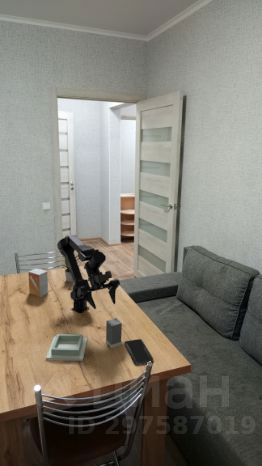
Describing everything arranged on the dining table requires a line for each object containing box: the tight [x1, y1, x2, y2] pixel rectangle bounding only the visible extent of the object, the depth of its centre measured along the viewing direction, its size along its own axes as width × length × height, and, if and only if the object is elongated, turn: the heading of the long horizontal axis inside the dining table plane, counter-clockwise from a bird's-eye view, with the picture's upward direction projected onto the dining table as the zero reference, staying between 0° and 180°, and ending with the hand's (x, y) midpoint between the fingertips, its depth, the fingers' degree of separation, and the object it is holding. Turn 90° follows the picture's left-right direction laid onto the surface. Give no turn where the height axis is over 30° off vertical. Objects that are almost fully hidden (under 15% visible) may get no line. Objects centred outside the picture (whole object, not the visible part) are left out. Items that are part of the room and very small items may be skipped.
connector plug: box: [105, 317, 123, 349], centre depth 135 cm, size 5×5×10 cm
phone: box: [123, 338, 154, 366], centre depth 131 cm, size 8×1×15 cm
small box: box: [27, 267, 49, 298], centre depth 177 cm, size 8×6×13 cm
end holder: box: [45, 333, 88, 362], centre depth 131 cm, size 14×14×4 cm
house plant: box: [59, 254, 81, 283], centre depth 196 cm, size 14×14×16 cm
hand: (105, 306), depth 139 cm, fingers open, 9 cm apart
